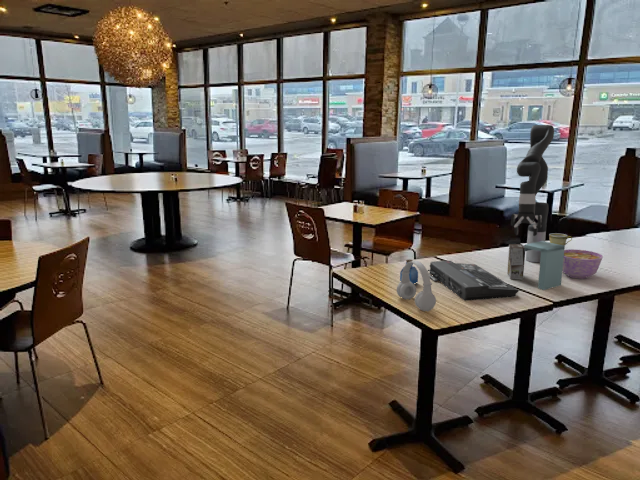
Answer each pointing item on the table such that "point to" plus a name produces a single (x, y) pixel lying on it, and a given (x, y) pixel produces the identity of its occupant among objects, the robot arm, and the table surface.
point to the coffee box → (516, 261)
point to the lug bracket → (548, 263)
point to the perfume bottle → (411, 273)
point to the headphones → (408, 289)
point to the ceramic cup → (558, 238)
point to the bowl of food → (581, 263)
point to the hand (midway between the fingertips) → (525, 235)
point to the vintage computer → (470, 281)
